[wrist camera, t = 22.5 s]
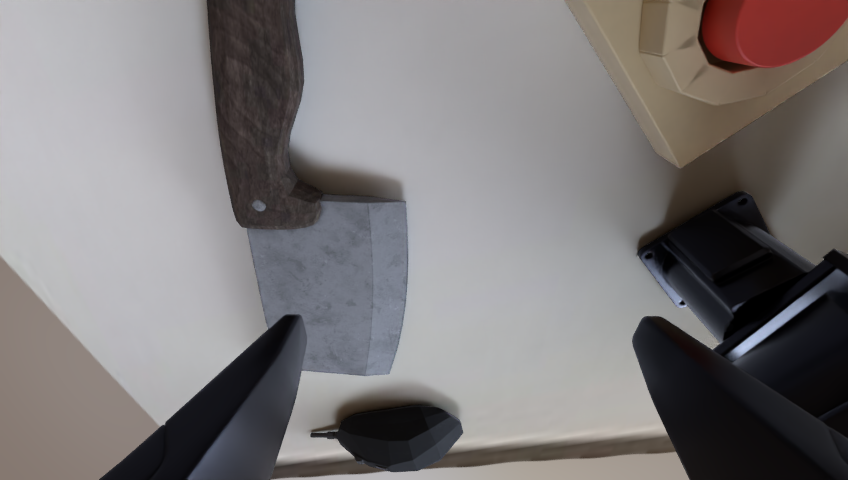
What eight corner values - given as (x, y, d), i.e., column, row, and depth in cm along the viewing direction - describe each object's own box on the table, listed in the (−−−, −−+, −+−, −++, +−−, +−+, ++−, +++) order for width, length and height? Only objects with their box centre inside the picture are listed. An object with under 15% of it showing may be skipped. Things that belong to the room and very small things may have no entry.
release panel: (827, 37, 16) (931, 46, 13) (655, 153, 19) (704, 185, 16) (751, -241, 12) (880, -336, 8) (544, -32, 15) (579, -42, 11)
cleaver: (161, -149, 13) (119, -171, 11) (431, -121, 13) (432, -139, 11) (284, 364, 29) (275, 387, 28) (402, 369, 30) (400, 392, 28)
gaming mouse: (299, 415, 33) (285, 461, 30) (456, 398, 32) (460, 444, 28) (322, 449, 37) (312, 493, 33) (465, 434, 35) (469, 479, 32)
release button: (827, 7, 13) (879, 7, 11) (720, 82, 14) (755, 92, 12) (801, -93, 11) (857, -108, 10) (685, 2, 12) (719, 2, 11)
